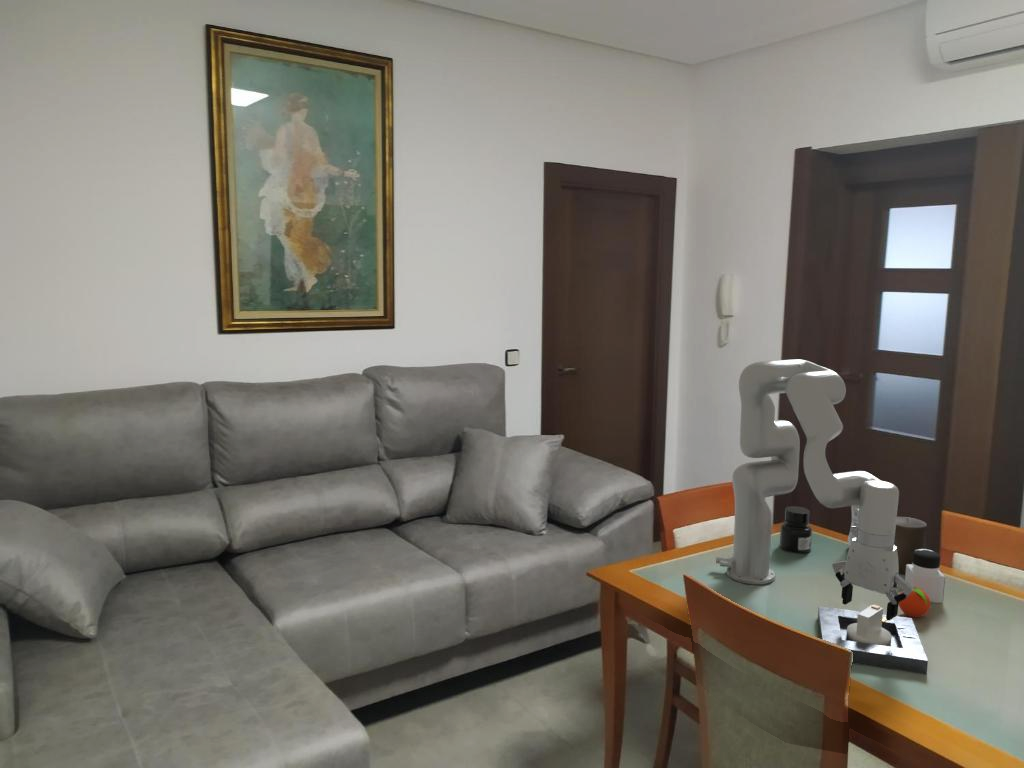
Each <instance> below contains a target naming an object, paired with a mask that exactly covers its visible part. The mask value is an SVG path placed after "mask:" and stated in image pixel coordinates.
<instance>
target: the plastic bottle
mask: <svg viewBox="0 0 1024 768" xmlns="http://www.w3.org/2000/svg"><path fill="white" fill-rule="evenodd" d="M850 508H851V525H850V530H849V534H848V537H847V543H848V544H847V545H848V546H849V547H850V544H851V541H852V539H853V538H856V537H855V535H856V534H855V533H854V532H851V527H852V526H857V523H858V511H859V505H853V506H850Z"/></svg>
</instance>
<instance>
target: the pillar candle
mask: <svg viewBox="0 0 1024 768" xmlns="http://www.w3.org/2000/svg"><path fill="white" fill-rule="evenodd" d="M927 526H928V525H927V523H926V522H925V521H923V520H921V519H918V518H915V517H914V518H912V517H908V516H897V519H896V529H895V539H894V546H896V547H897V553H898V565H899V573H898V575H900V576H901V575H903V576H905V574H906V565H907V564H912V562H913V552H914V551H915V550H918V549H926V541H927V539H926V538H927V528H928V527H927Z"/></svg>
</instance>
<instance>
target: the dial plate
mask: <svg viewBox="0 0 1024 768" xmlns="http://www.w3.org/2000/svg"><path fill="white" fill-rule="evenodd" d="M817 609H818V611H817V622H818V623H819V625H818V630H819V631H820V633H819V639H820V638H821V639H823V640H826V641H829V642H831V643H834V644H836V645H839V646H841V647H844V648H847V649H849V650H851V651H852V652H853V662H852V663H851V664H856V665H863V666H869V667H876V668H882V669H883V668H884V669H891V670H896V671H902V672H904V671H905V672H909V673H916V674H923V675H928V663H929V660H928V657H927V654H926V652H925V650H924V647H923V644H922V642H921V639H920V636H919V633H918V631H917V629H916V625H915V622H914V620H913V618H911V617H906V616H905V617H904V616H898V615H897V616H896V617H894V618H893V619H891V620H890V621H889V620H887V619H886V614H883V617H882V628H884V629H886V630H887V631H889V632H890V634H891V636H892V638H891V645H890V646H883V645H875V644H868V643H861V642H854V641H850V640H849V639H848V637H847V627H848V626H849V625H850V624H853V623H857V618H858V614H859V613H860V612H861V611H858V610H851V609H844V608H843V609H842V608H837V607H827V606H821V605H820V606H818V607H817ZM819 631H818V632H819Z"/></svg>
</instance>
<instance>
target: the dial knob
mask: <svg viewBox="0 0 1024 768" xmlns="http://www.w3.org/2000/svg"><path fill="white" fill-rule="evenodd" d="M883 615H884V607H881V606H880V605H877V604H871V605H869V606H867V608H865V609H863V610H862V611H860V613H859V614H858V618H857V623H853V624H850V625H849V626H848V627H847V637H848V639H849V640H850V641H854V642H861V643H868V644H875V645H883V646H890V645H891V638H892V636H891V634H890V632H889V631H887V630H886V629H884V628H882V617H883Z"/></svg>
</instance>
